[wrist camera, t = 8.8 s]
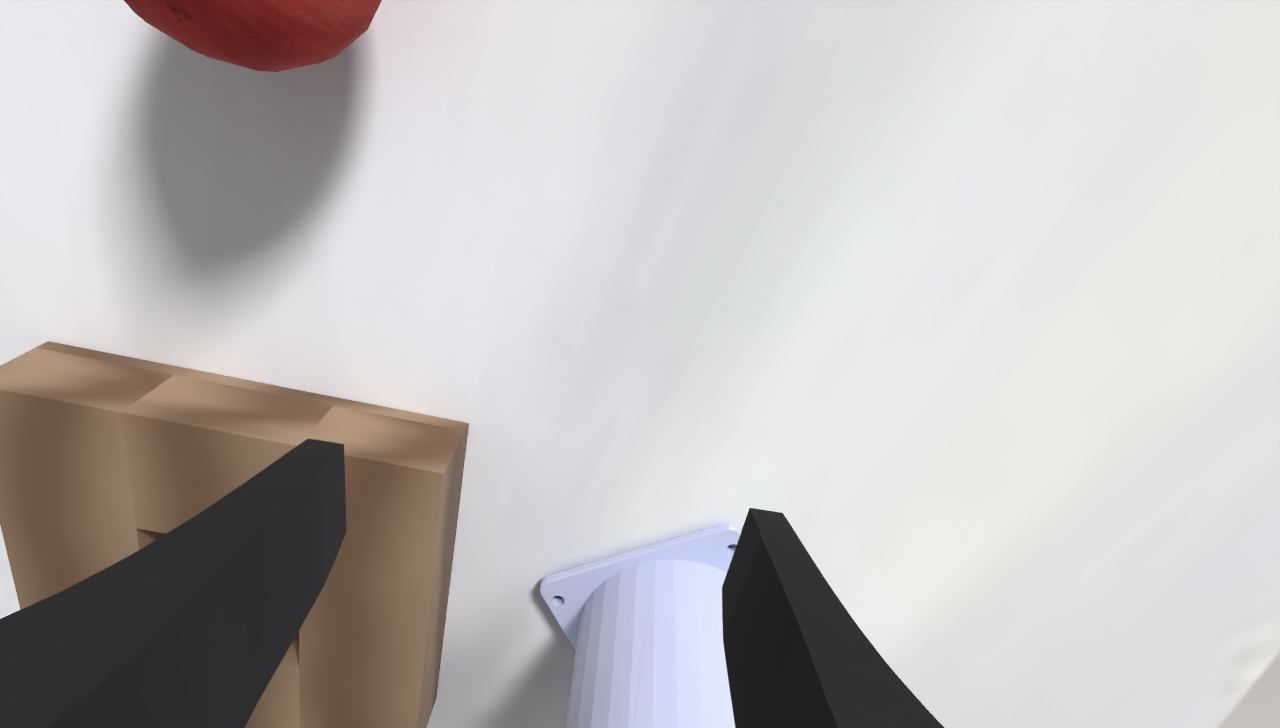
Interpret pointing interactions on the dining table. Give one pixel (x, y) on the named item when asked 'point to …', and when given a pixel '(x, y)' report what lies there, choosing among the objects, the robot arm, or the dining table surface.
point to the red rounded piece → (261, 28)
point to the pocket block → (210, 469)
